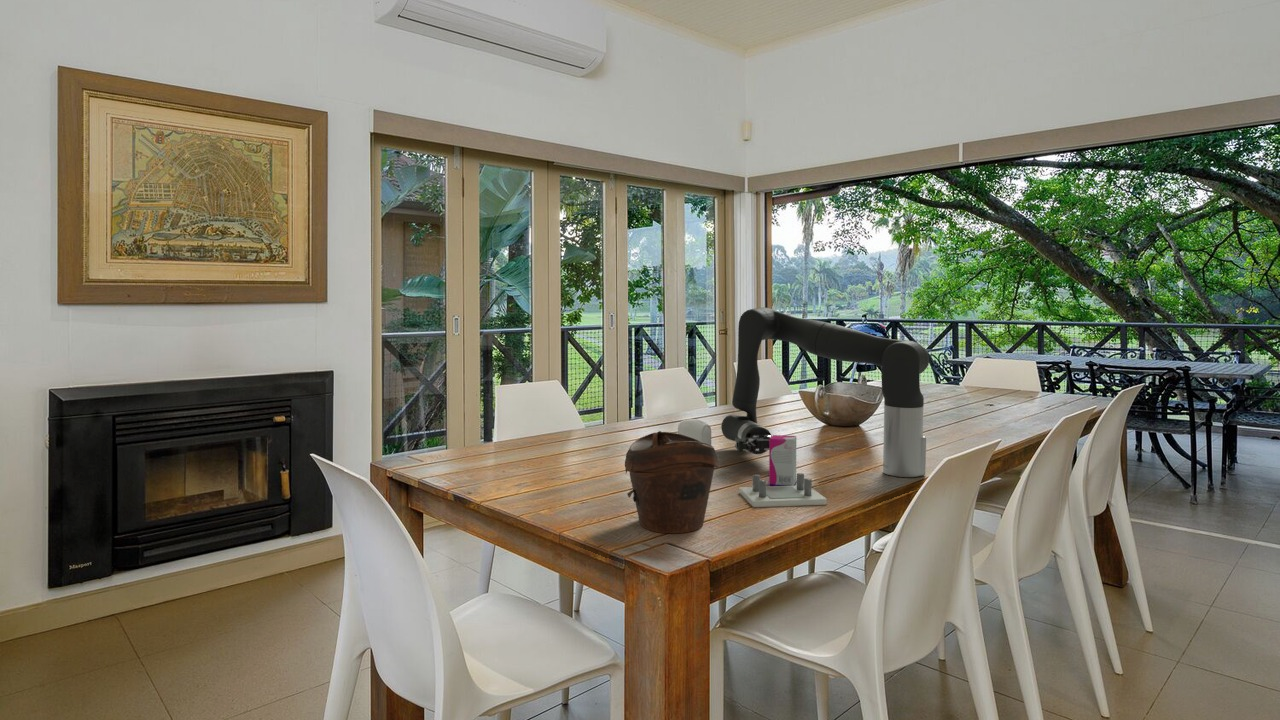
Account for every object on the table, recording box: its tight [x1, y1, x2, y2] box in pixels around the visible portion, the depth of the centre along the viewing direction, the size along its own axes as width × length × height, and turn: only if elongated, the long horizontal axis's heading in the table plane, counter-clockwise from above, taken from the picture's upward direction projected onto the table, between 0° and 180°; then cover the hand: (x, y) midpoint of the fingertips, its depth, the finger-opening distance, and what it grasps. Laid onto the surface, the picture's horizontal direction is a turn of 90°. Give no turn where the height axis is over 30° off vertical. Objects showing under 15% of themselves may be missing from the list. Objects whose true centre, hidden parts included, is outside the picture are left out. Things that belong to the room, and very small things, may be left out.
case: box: [624, 430, 720, 534], centre depth 141 cm, size 18×20×18 cm
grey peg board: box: [739, 472, 828, 508], centre depth 159 cm, size 16×12×5 cm
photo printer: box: [677, 418, 712, 446], centre depth 192 cm, size 10×4×12 cm, turn 39°
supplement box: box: [768, 434, 797, 486], centre depth 171 cm, size 6×6×12 cm
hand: (771, 449), depth 181 cm, fingers open, 8 cm apart
